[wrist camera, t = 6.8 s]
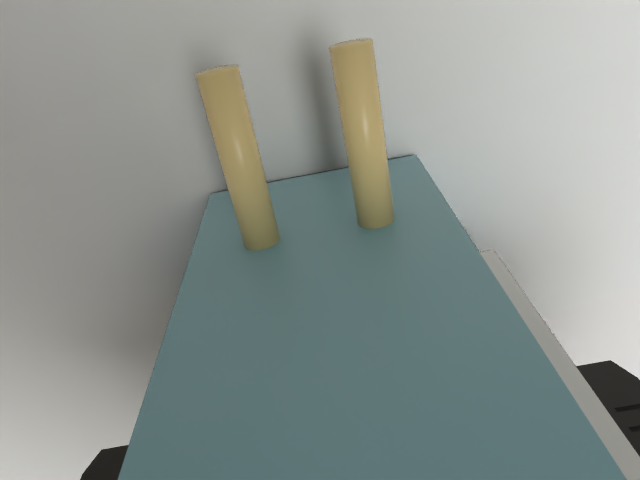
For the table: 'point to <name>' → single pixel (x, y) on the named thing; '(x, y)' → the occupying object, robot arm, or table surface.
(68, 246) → the table surface
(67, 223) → the table surface
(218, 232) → the charger
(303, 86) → the table surface
